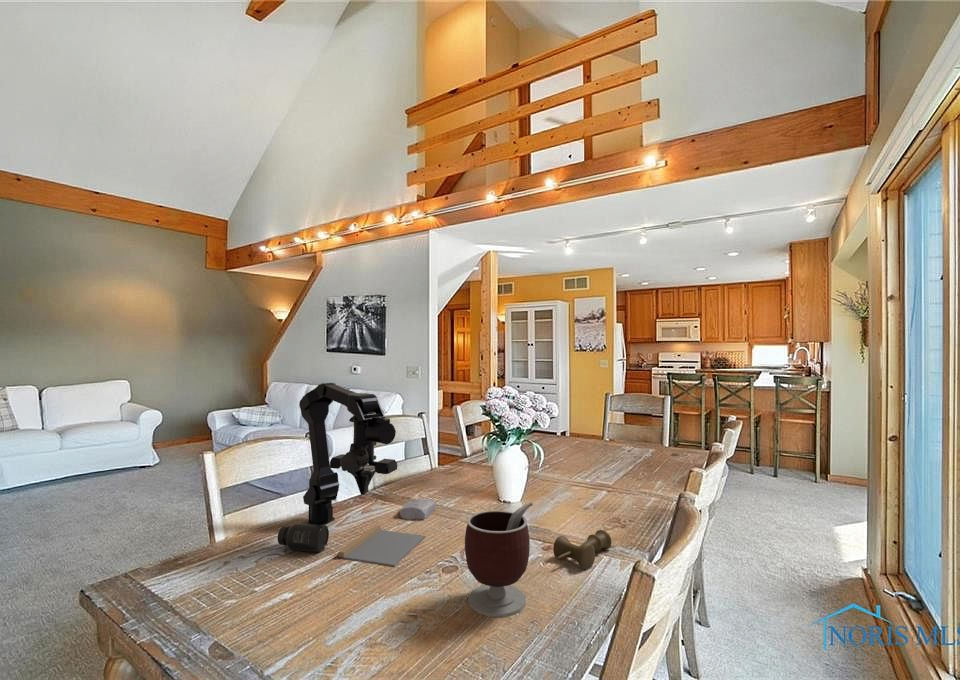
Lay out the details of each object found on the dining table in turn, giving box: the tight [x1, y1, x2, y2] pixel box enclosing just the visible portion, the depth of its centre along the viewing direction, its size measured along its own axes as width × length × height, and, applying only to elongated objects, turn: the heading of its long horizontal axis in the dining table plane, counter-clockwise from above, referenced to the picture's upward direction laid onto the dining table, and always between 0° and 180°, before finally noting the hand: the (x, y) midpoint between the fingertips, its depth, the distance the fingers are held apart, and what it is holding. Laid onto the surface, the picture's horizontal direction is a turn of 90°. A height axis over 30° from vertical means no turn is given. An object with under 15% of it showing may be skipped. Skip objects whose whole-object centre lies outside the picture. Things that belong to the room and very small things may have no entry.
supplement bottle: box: [276, 522, 330, 553], centre depth 127 cm, size 7×7×12 cm
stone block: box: [399, 498, 437, 521], centre depth 155 cm, size 12×5×10 cm
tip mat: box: [337, 524, 426, 567], centre depth 129 cm, size 16×19×2 cm
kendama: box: [552, 529, 612, 571], centre depth 123 cm, size 6×10×20 cm
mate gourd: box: [464, 501, 533, 618], centre depth 102 cm, size 16×14×20 cm
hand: (362, 494), depth 134 cm, fingers closed
